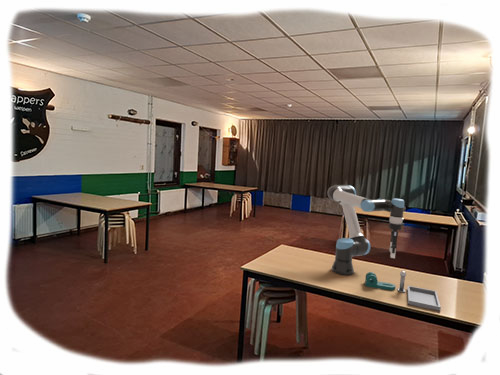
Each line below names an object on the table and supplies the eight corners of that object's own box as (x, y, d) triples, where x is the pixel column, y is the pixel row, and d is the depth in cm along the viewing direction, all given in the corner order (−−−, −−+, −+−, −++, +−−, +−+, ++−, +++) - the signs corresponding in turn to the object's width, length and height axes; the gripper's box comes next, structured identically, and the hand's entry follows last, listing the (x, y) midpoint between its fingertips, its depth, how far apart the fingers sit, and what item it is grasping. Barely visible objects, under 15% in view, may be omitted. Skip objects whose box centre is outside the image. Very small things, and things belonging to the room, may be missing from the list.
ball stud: (397, 291, 205) (399, 271, 204) (397, 289, 209) (399, 269, 207) (404, 292, 203) (407, 273, 202) (404, 290, 207) (406, 270, 206)
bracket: (365, 286, 210) (366, 275, 209) (365, 282, 217) (366, 271, 216) (395, 291, 205) (397, 279, 205) (394, 287, 212) (395, 275, 211)
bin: (408, 304, 187) (408, 300, 187) (407, 289, 209) (407, 285, 209) (440, 311, 181) (440, 307, 181) (435, 294, 203) (436, 291, 202)
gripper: (403, 227, 197) (399, 261, 200) (400, 219, 220) (397, 250, 223) (390, 226, 200) (386, 259, 203) (388, 218, 223) (385, 248, 226)
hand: (392, 254), depth 213 cm, fingers open, 13 cm apart
